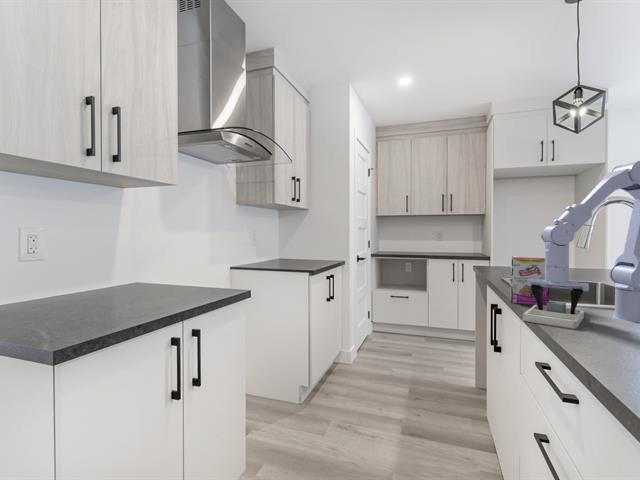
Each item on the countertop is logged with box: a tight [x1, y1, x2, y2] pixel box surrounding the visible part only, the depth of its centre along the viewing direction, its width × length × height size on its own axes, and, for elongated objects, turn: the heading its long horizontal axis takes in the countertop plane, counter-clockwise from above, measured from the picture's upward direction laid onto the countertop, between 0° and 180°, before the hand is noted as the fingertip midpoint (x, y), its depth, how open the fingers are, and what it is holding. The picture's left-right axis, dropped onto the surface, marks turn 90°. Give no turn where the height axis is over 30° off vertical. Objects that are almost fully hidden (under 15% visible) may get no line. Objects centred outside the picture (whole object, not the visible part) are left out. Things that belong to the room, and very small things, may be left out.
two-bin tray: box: [522, 305, 585, 330], centre depth 97 cm, size 15×12×2 cm
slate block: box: [547, 300, 567, 314], centre depth 100 cm, size 4×4×4 cm
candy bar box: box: [510, 255, 550, 306], centre depth 117 cm, size 11×5×16 cm, turn 62°
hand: (556, 312), depth 100 cm, fingers open, 7 cm apart
